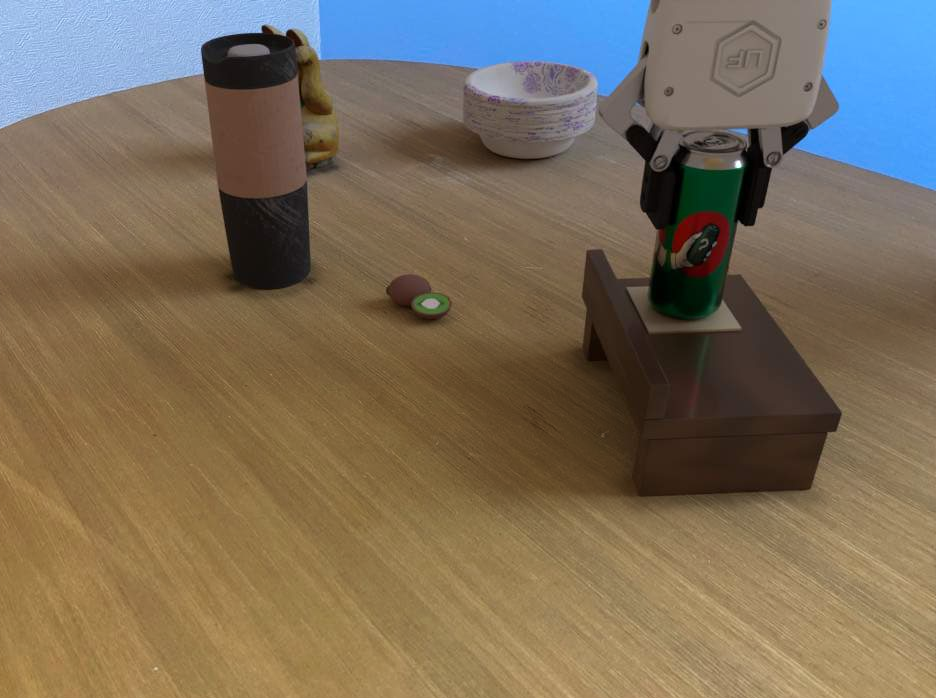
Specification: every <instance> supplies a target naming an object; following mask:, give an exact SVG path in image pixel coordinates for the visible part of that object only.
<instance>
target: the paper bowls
mask: <svg viewBox="0 0 936 698" xmlns="http://www.w3.org/2000/svg"><path fill="white" fill-rule="evenodd" d="M462 86H463V88H462V89H463V90H462V93H463V98H462V99H463V105H462V106H463V108H462V115H463V118H462V121H463V124H464V126H465V127H466V128H467V129H468V130H469V131H471V132H473V133H475V134H477V135H479V138H480V140H481V142H482V144H483V145H484V147H486V149H487V150H489V151H490V152H492V153H495V154H496V155H499V156H502V157H507V158H511V159H518V160H519V159H521V160H535V159H544V158H549V157H553V156H557V155H559V154H561V153H564V152H565V151H567V150H568V149H569V148H570V147H571V145H572V144H573V143H574V141H575V139H576V137H578V136H580V135H583V134H585V133H586V132H588V131H589V130H590V129H592V127H593V126H594V123H595V121H596V120H595V119H596V113H597V112H596V111H597V109H596V108H597V103H598V101H597V99H598V88H599V83H598V78H597V77H596V76H595V74H593V73H592V72H590V71H588V70H587V69H584V68H582V67H579V66H575V65H571V64H566V63H560V62H555V61H554V62H552V61H544V60H543V61H542V60H541V61H540V60H521V61H518V60H517V61H507V62H501V63H497V64H496V63H495V64H492V65H491V64H490V65H487V66H484V67H482V68H478V69H475V70H474V71H472V72H471V73H469V74H467V76H466V77H465V79H464V81H463V85H462Z"/></svg>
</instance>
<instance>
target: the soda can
mask: <svg viewBox="0 0 936 698" xmlns="http://www.w3.org/2000/svg"><path fill="white" fill-rule="evenodd" d="M747 148H748V142H747V141H746V140H745V139H744V138H743V137H741V136H740V135H737V134H734V133H731V132H726V131H723V130H691V131H685V132H684V133H683V135H682V138H681V140H680V142H679V144H678V146H677V149H676V151H675V153H674V155H673V157H672V162H671V168H672V169H673V170H674V171H675V173H676V179H675V186H674V192H673V198H672V205H671V211H670V217H669V223H668V227H665V229H661V230H656V233H655V234H656V235H655V241H654V248H653V253H652V254H653V255H652V261H651V262H652V263H651V268H650V275H649V278H650V281H649V287H648V294H647V296H648V300H649V302H650V303H651V305H652V306H653V307H654V308H655V309H656V310H657V311H658V312H659V313H661V314H663V315H665V316H667V317H670V318H674V319H679V320H699V319H703V318H706V317H708V316H710V315H711V314H713V313H714V312H715V311H717V310H718V309H719V308H720V306H721V303H722V298H723V293H724V288H725V283H726V278H727V275H728V272H729V268H730V263H731V258H732V254H733V248H734V243H735V238H736V233H737V229H738V224H739V220H738V219H739V214H740V209H741V204H742V199H743V195H744V190H745V185H746V180H747V175H748V170H749V165H750V159H749V156H748V154H747Z"/></svg>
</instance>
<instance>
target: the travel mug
mask: <svg viewBox="0 0 936 698" xmlns="http://www.w3.org/2000/svg"><path fill="white" fill-rule="evenodd" d="M200 55H201V62H202V63H201V64H202V73H203V79H204V87H205V94H206V95H205V96H206V103H207V111H208V118H209V127H210V135H211V143H212V151H213V157H214V158H213V159H214V165H215V167H214V168H215V174H216V175H215V176H216V182H217V189H218V194H219V201H220V208H221V213H222V218H223V224H224V230H225V236H226V243H227V249H228V252H229V253H228V254H229V260H230V266H231V272H232V274H233V275H232V276H233V278H234V279H235V281H236V282H237V283H239V284H240V285H242V286H245V287H248V288H252V289H257V290H274V289H275V290H276V289H281V288H287V287H291V286H293V285H296V284H298V283H300V282H302V281H303V280H305V279H306V278H307V277H308V275H309V274H310V272H311V265H312V264H311V242H310V241H311V239H310V217H309V216H310V215H309V197H308V195H309V194H308V180H307V179H308V176H307V170H306V163H305V152H304V141H303V129H302V118H301V107H300V95H299V84H298V73H297V61H296V50H295V43H294V41H293V40H292V39H291V38H289V37H286V35H285V36H283V35H279V34H271V33H262V32H243V33H234V34H228V35H223V36H219V37H215V38H212V39H209V40H207V41H206V42H204V43H203V44H202V45H201V47H200Z"/></svg>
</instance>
